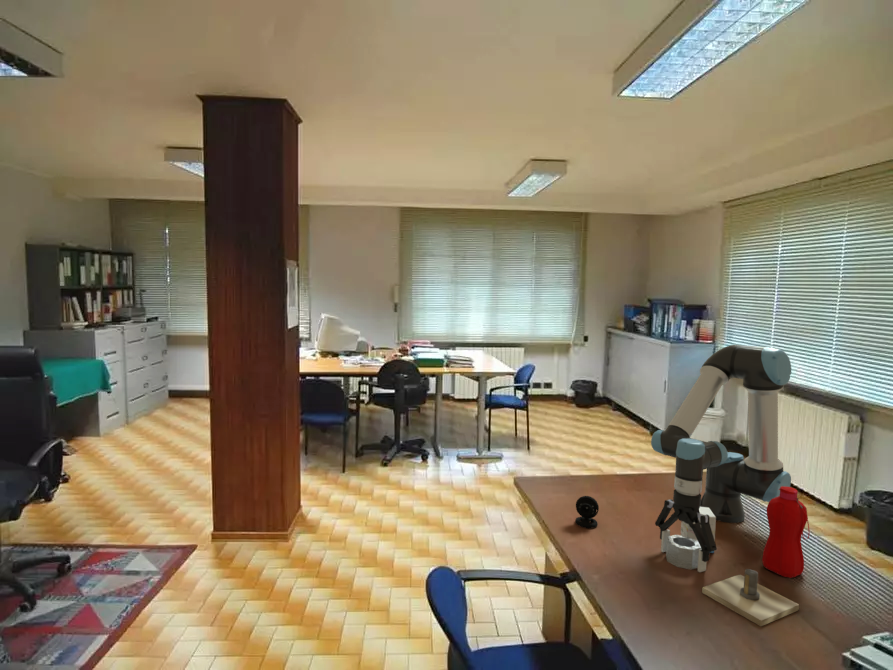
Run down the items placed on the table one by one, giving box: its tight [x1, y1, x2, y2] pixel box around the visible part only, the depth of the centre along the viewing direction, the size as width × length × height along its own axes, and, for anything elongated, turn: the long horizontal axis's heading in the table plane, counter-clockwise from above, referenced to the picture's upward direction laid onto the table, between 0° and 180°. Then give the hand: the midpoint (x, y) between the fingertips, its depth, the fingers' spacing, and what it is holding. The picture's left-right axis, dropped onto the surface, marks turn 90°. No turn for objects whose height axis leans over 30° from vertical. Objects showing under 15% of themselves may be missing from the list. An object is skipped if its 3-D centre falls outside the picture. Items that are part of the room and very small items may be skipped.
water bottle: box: [761, 486, 810, 579], centre depth 154 cm, size 9×11×25 cm
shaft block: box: [701, 568, 800, 627], centre depth 138 cm, size 16×16×8 cm
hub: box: [665, 534, 701, 570], centre depth 159 cm, size 9×9×6 cm
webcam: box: [575, 495, 600, 530], centre depth 182 cm, size 8×8×10 cm
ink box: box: [680, 507, 717, 554], centre depth 169 cm, size 9×8×13 cm
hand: (682, 560), depth 159 cm, fingers open, 12 cm apart
